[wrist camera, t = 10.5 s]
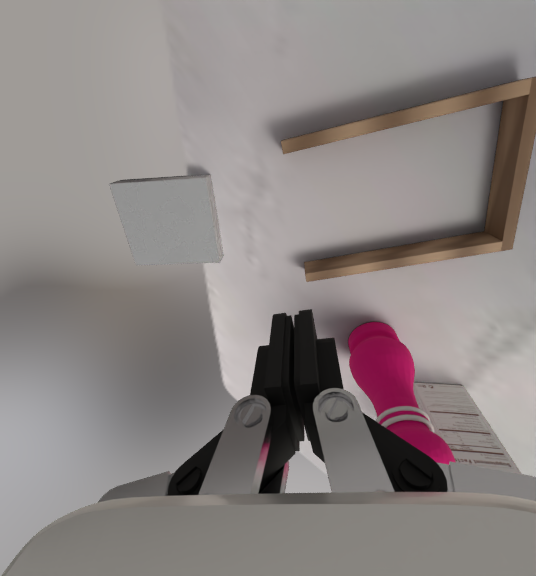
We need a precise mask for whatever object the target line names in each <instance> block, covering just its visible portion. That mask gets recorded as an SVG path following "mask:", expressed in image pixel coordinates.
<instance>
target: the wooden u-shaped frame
mask: <svg viewBox="0 0 536 576" xmlns="http://www.w3.org/2000/svg"><path fill="white" fill-rule="evenodd" d="M499 101H503V106H502V113H501V120H500V127H499V134H498V141H497V147H496V154H495V161H494V168H493V175H492V182H491V189H490V195H489V202H488V209H487V216H486V223H485V230H484V231H483V232H478V233H472V234H466V235H460V236H454V237H448V238H443V239H437V240H431V241H425V242H419V243H414V244H408V245H402V246H396V247H390V248H384V249H379V250H373V251H367V252H361V253H355V254H350V255H344V256H338V257H332V258H326V259H320V260H315V261H309V262H304V264H305V276H306V281H307V282H309V281H315V280H322V279H328V278H334V277H341V276H347V275H353V274H359V273H366V272H372V271H378V270H385V269H391V268H397V267H404V266H410V265H416V264H422V263H429V262H435V261H441V260H448V259H454V258H460V257H466V256H473V255H479V254H485V253H492V252H498V251H504V250H510V249H512V248H513V243H514V238H515V233H516V228H517V223H518V218H519V213H520V208H521V204H522V199H523V194H524V189H525V184H526V179H527V174H528V169H529V164H530V159H531V154H532V149H533V144H534V139H535V134H536V77H532V78H527V79H522V80H518V81H514V82H510V83H506V84H502V85H498V86H494V87H490V88H486V89H482V90H478V91H474V92H470V93H466V94H462V95H458V96H454V97H450V98H447V99H443V100H439V101H435V102H431V103H427V104H423V105H419V106H415V107H411V108H407V109H403V110H399V111H395V112H391V113H387V114H383V115H379V116H376V117H372V118H368V119H364V120H360V121H356V122H352V123H348V124H344V125H340V126H336V127H332V128H328V129H324V130H320V131H316V132H312V133H309V134H305V135H301V136H297V137H293V138H289V139H285V140H282V141H281V145H282V150H283V154H286V153H290V152H294V151H298V150H303V149H307V148H311V147H315V146H319V145H323V144H327V143H331V142H335V141H339V140H343V139H348V138H352V137H356V136H360V135H364V134H368V133H372V132H376V131H380V130H384V129H388V128H393V127H397V126H401V125H405V124H409V123H413V122H417V121H421V120H425V119H429V118H433V117H438V116H442V115H446V114H450V113H454V112H458V111H462V110H466V109H470V108H474V107H479V106H483V105H487V104H491V103H495V102H499Z"/></svg>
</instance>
